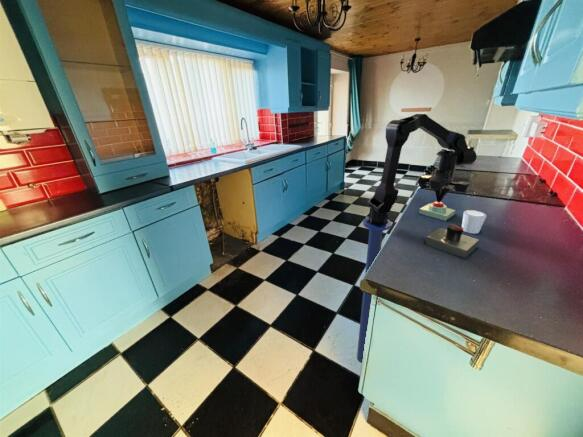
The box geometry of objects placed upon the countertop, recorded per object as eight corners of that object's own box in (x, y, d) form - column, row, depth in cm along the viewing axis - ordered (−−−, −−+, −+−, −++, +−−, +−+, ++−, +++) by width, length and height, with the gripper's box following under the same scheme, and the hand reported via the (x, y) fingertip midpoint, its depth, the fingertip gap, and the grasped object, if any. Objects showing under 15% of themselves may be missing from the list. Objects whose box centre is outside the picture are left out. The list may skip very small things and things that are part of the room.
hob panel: (425, 243, 83) (427, 236, 81) (438, 234, 88) (440, 227, 87) (464, 258, 74) (467, 250, 73) (476, 247, 79) (479, 239, 78)
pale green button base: (418, 213, 106) (420, 204, 104) (428, 207, 111) (430, 199, 109) (445, 220, 98) (447, 212, 96) (454, 214, 103) (456, 206, 101)
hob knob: (442, 237, 80) (445, 226, 78) (448, 233, 82) (451, 222, 81) (457, 242, 77) (460, 231, 75) (462, 238, 79) (465, 226, 77)
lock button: (431, 206, 103) (432, 202, 102) (435, 204, 105) (436, 200, 104) (440, 208, 100) (441, 204, 100) (444, 206, 102) (445, 202, 102)
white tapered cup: (466, 224, 94) (470, 208, 91) (485, 231, 88) (491, 214, 85) (455, 228, 91) (459, 212, 89) (474, 236, 86) (479, 218, 83)
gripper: (413, 166, 98) (408, 201, 104) (465, 173, 84) (454, 213, 91) (427, 162, 104) (420, 195, 110) (477, 168, 90) (466, 206, 97)
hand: (438, 202), depth 102 cm, fingers closed
